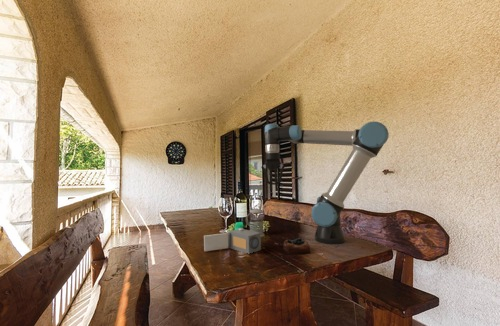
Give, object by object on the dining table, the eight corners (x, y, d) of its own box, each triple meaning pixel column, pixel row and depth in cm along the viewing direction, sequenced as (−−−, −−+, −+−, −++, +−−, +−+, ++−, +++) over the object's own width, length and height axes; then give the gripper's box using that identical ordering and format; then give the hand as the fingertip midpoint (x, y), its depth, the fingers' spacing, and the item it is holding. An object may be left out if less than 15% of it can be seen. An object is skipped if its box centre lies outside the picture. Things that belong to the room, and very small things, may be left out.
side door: (204, 251, 112) (204, 236, 113) (203, 250, 114) (203, 235, 115) (230, 247, 118) (230, 233, 118) (229, 246, 119) (229, 232, 120)
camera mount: (253, 243, 127) (253, 223, 127) (239, 244, 125) (238, 224, 125) (247, 237, 138) (246, 219, 139) (234, 238, 136) (233, 220, 137)
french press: (259, 237, 137) (259, 193, 138) (242, 235, 143) (241, 192, 144) (267, 233, 145) (266, 192, 146) (250, 231, 151) (250, 191, 152)
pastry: (281, 248, 118) (280, 236, 118) (304, 246, 119) (304, 234, 120) (287, 255, 107) (287, 242, 107) (313, 254, 109) (312, 240, 109)
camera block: (263, 250, 114) (262, 231, 114) (250, 254, 108) (250, 235, 109) (240, 244, 125) (240, 227, 125) (228, 247, 119) (228, 229, 119)
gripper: (260, 152, 128) (261, 197, 126) (285, 151, 127) (287, 197, 125) (260, 154, 135) (262, 196, 134) (284, 153, 134) (286, 195, 133)
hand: (274, 196), depth 130 cm, fingers closed
